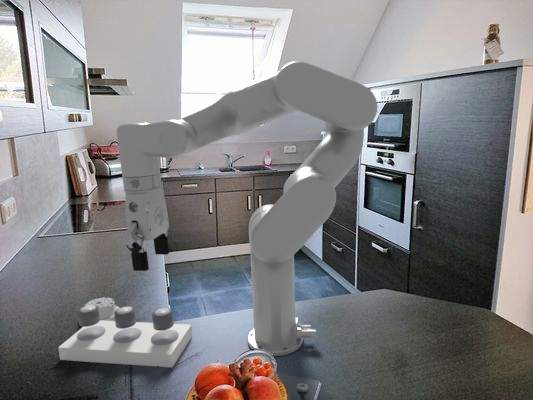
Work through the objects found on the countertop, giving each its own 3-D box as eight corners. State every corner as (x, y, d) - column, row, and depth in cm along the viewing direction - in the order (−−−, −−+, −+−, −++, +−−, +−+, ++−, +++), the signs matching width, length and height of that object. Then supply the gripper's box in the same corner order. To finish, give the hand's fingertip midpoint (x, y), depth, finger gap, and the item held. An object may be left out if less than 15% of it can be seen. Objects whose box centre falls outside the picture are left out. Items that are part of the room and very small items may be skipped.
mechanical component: (127, 315, 103) (108, 306, 109) (126, 300, 102) (107, 291, 108) (91, 331, 96) (73, 320, 102) (89, 315, 95) (71, 305, 101)
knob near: (176, 320, 87) (175, 307, 86) (168, 331, 82) (167, 317, 82) (158, 319, 87) (157, 306, 87) (149, 330, 83) (148, 316, 82)
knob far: (104, 317, 90) (102, 304, 89) (92, 327, 85) (90, 313, 85) (87, 316, 90) (85, 303, 90) (75, 326, 86) (73, 312, 85)
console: (192, 336, 91) (191, 323, 91) (172, 367, 80) (170, 353, 79) (93, 330, 95) (91, 319, 95) (60, 359, 84) (58, 346, 83)
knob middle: (139, 319, 88) (138, 305, 87) (130, 329, 84) (128, 315, 83) (122, 318, 89) (120, 305, 88) (111, 328, 85) (110, 314, 84)
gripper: (138, 190, 70) (149, 277, 74) (176, 177, 87) (184, 248, 90) (101, 191, 72) (114, 277, 75) (145, 178, 88) (154, 248, 92)
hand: (152, 261), depth 83 cm, fingers open, 9 cm apart
